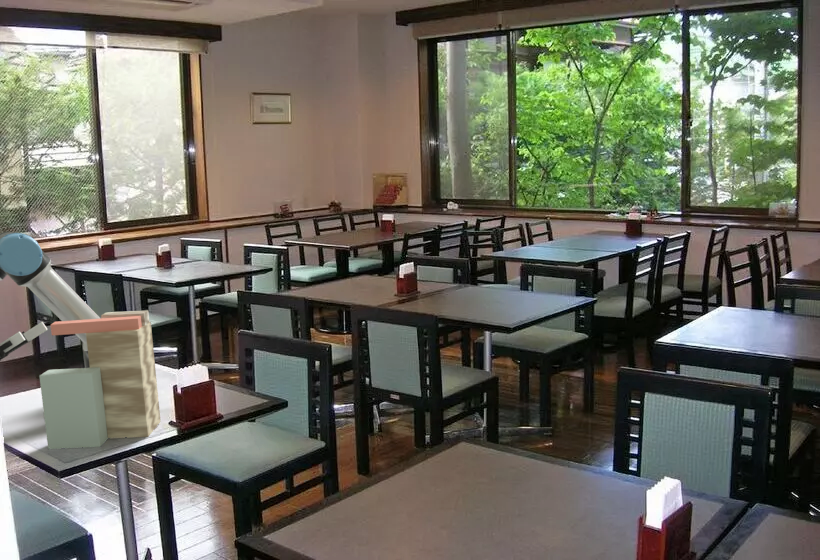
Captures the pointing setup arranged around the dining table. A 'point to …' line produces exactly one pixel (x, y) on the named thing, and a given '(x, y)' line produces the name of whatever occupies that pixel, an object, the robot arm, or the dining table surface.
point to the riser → (73, 408)
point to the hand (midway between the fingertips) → (33, 330)
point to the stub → (96, 325)
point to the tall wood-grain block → (127, 377)
